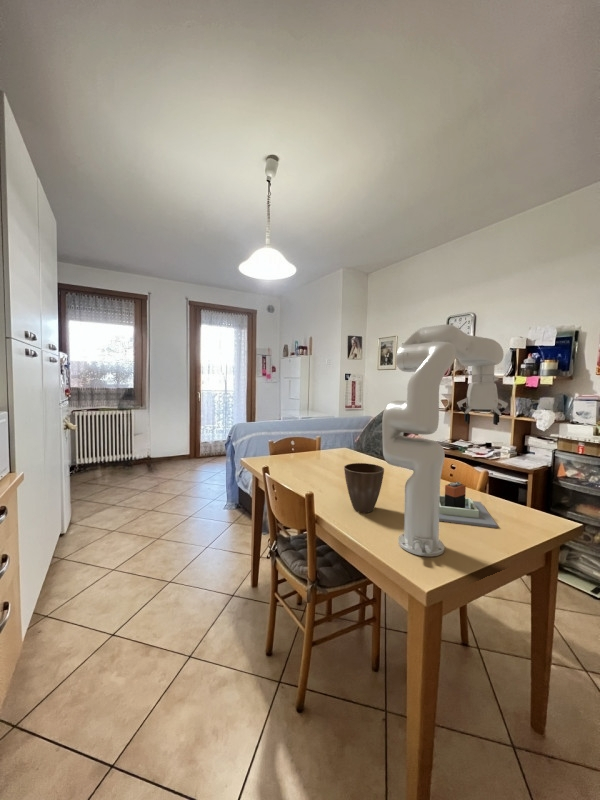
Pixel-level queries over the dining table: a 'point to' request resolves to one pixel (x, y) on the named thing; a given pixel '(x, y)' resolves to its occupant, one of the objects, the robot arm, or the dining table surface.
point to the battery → (455, 495)
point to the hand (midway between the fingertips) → (481, 424)
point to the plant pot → (363, 485)
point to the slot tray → (466, 514)
